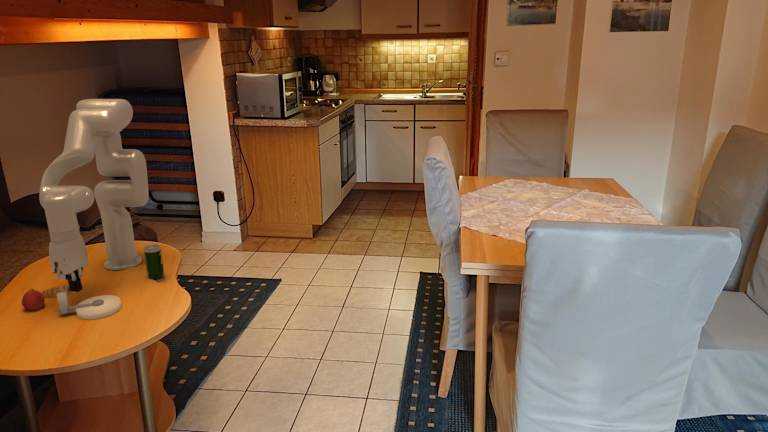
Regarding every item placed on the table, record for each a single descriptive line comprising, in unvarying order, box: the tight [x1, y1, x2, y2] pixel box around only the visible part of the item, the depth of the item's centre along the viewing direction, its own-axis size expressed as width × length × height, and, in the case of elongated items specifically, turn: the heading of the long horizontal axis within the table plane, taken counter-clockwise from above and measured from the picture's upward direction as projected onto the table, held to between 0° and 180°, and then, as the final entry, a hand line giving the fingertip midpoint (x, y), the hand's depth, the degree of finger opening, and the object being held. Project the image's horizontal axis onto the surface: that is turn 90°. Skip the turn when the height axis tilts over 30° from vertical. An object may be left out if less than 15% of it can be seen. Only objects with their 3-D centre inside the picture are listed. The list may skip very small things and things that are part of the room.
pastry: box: [39, 284, 70, 299], centre depth 174 cm, size 9×7×4 cm
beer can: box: [143, 243, 165, 283], centre depth 186 cm, size 5×5×12 cm
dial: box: [56, 292, 122, 321], centre depth 162 cm, size 16×12×7 cm
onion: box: [21, 287, 46, 312], centre depth 164 cm, size 6×6×8 cm
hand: (76, 290), depth 166 cm, fingers closed
